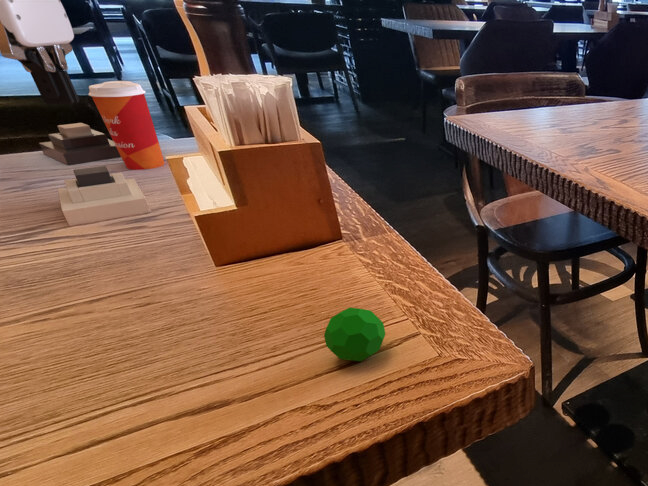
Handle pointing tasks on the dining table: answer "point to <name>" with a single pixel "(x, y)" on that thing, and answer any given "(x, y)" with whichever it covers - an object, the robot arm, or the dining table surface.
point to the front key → (92, 176)
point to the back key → (74, 130)
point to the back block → (80, 148)
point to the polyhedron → (354, 334)
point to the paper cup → (129, 123)
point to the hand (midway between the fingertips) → (62, 102)
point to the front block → (101, 200)
